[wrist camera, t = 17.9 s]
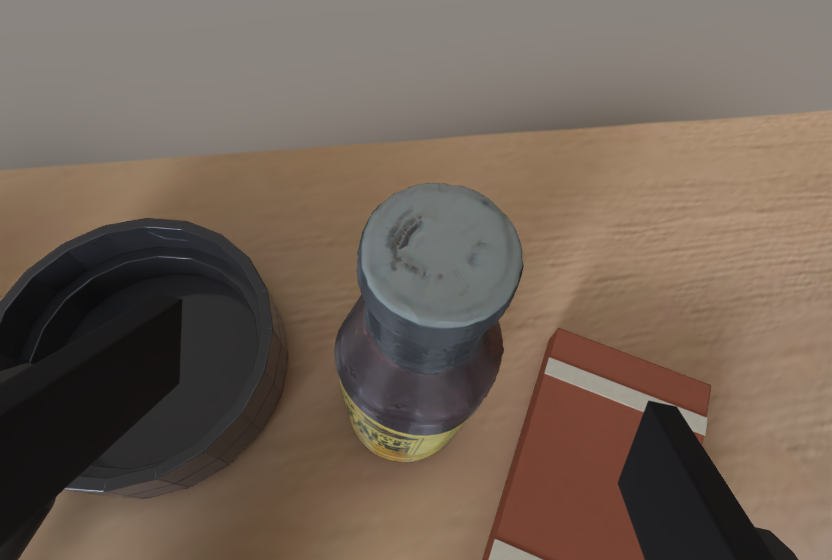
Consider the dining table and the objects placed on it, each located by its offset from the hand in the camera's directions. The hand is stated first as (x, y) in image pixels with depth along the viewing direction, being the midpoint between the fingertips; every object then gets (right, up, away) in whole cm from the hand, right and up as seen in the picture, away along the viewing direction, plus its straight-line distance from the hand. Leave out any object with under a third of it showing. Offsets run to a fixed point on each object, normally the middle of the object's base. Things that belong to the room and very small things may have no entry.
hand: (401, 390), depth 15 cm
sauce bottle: (0, -5, +16) cm, 17 cm away
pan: (-14, -2, +16) cm, 22 cm away
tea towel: (+10, -8, +14) cm, 19 cm away
